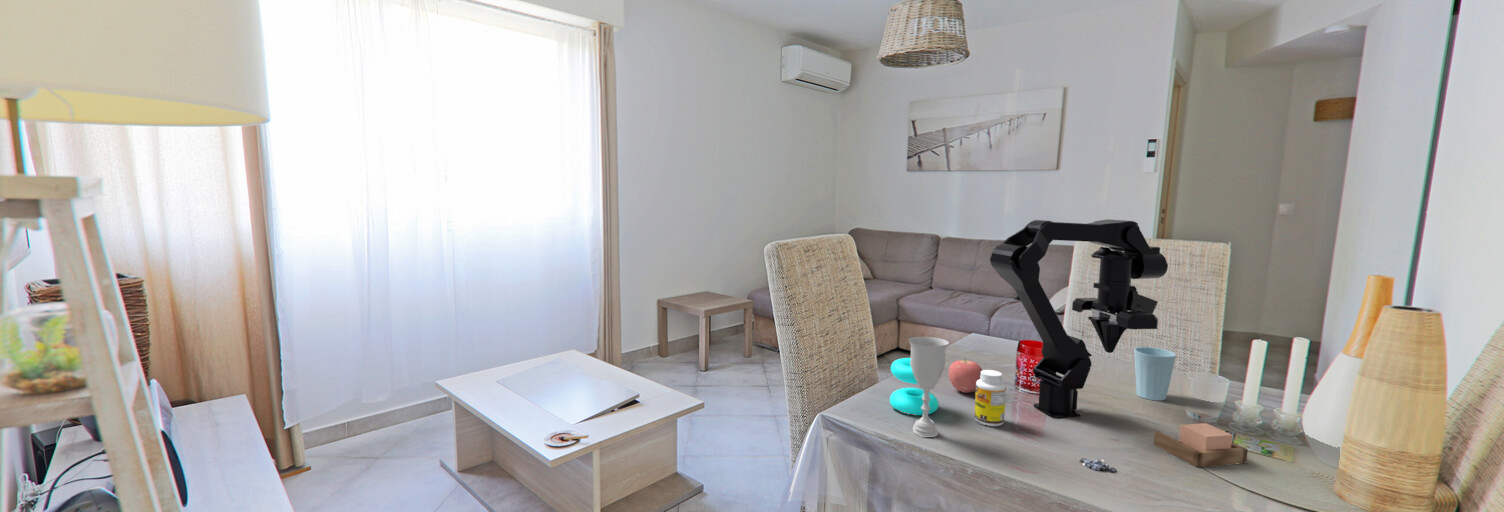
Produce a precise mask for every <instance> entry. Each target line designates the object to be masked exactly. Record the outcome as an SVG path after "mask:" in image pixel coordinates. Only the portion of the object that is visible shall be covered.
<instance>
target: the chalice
mask: <svg viewBox="0 0 1504 512" xmlns="http://www.w3.org/2000/svg"><path fill="white" fill-rule="evenodd" d="M908 342H909V344H910V358H911V360H910V365H911V368H912V371H913V374H914V377H915V379H916V381H917V383H918V384H917V385H918V387H919V388H920V389H923V390H924V394H923V397H922V400H923V406H922V407H921V409H922V410H923V415H921V416H922V417H920V418H918V419H917V420H915V422H914V425H913V427H912V429H913V432H914V433H916V434H918V435H920V436H935V435H937V434H938V433H939V431H938V428H937V427H936V423H935V421H933V420H932V419H931V418H930V417H929V414H928V413H929V410H930V409H931V408H930V407H929V401H930V400H931V399H930V397H929V392H930V390H932V389H935V387H936V386H937V384H938V382H939V381H940V379H941V377H942V375H943V373H944V370H945V366H946V349H947V346H948V345H949V341H948V340H946V339H943V338H939V337H934V336H913V337H909V338H908Z"/></svg>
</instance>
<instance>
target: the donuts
mask: <svg viewBox="0 0 1504 512" xmlns="http://www.w3.org/2000/svg"><path fill="white" fill-rule="evenodd" d="M910 360H911V357H904V358H898V359H895V360H893V362H892V363H891V366H890V371H891V374H892V375H893V376H894V378H896V379H897V380H899V381H901V382H904V383H907V384H915V385H918V383H917V381H916V379H915V377H914V374H913V371H912V368H911V365H910ZM923 394H924V390H923V388H917V387H903V388H899V389H897V390H894V391H893V392H892V393H891V395H890V397H889V404H890V405H892V406H893V407H894V408H895V409H897V410H900V411H902V412H906V413H910V414H916V415H915V416H923V410H922V409H921V407H922V406H923V400H922V397H923ZM929 397H930V399H931V400H930V401H929V407H930V408H931V409H930V410H929V413H928V415H932V414H934V413H935V412H937V410H938V408H939V401H938V398H937V397H936V396H935V395H934V394H933V393H932V392H930V391H929ZM892 406H891V407H892ZM893 407H892V408H893ZM894 408H893V409H894ZM895 409H894V410H895ZM897 410H896V411H897ZM902 412H901V413H902Z"/></svg>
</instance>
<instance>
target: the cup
mask: <svg viewBox="0 0 1504 512" xmlns="http://www.w3.org/2000/svg"><path fill="white" fill-rule="evenodd" d="M1133 351H1134V366H1135V367H1134V370H1135V390H1136V395H1137V396H1138V397H1140V398H1142V399H1145V400H1149V401H1155V402H1156V401H1162V402H1163V401H1165V400H1167V397H1168V392H1169V389H1170V384H1171V379H1172V374H1173V370H1174V366H1175V362H1176V358H1177V354H1176V353H1175V352H1174V351H1171V350H1168V349H1167V350H1166V349H1164V348H1158V347H1147V346H1140V347H1135V348H1134V350H1133Z"/></svg>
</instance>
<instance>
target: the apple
mask: <svg viewBox="0 0 1504 512" xmlns="http://www.w3.org/2000/svg"><path fill="white" fill-rule="evenodd" d="M963 358H964V359H959V360H955V361H954V362H952V364H950V366H949V367H948V377H949V382H950V384H951V385H952V386H953V387H954V389H956V390H957V391H958V392H960V391H961V392H960V393H965V394H969V393H973V392H976V382H977V380H979V379H980V378H981V377H980V376H981V371H983V369H982V367H981V365H979V364H978V363H977V362H975V361H972V360H967V359H966V358H965V357H963Z"/></svg>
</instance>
